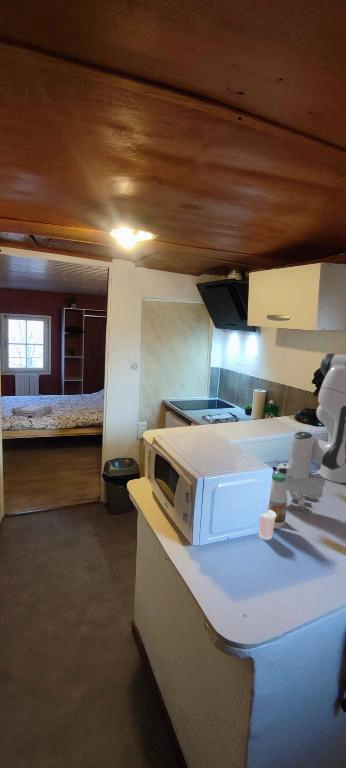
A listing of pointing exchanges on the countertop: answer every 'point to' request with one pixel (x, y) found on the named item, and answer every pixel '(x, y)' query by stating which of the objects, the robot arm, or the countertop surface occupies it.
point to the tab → (301, 502)
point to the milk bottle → (278, 500)
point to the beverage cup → (267, 524)
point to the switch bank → (304, 504)
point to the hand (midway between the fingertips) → (295, 501)
